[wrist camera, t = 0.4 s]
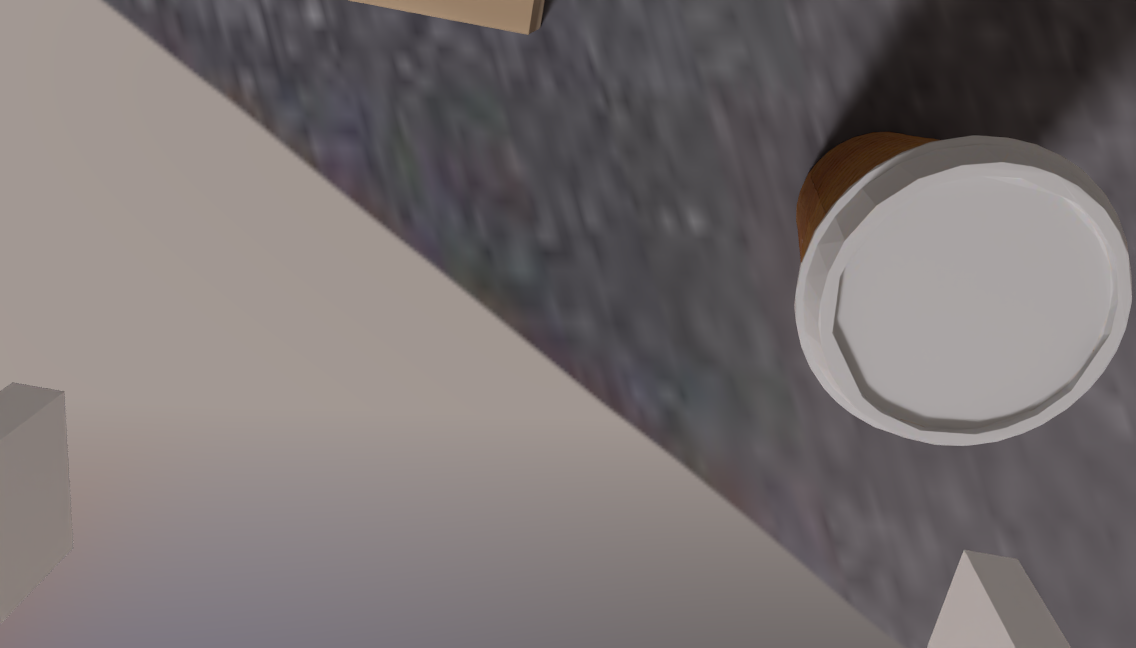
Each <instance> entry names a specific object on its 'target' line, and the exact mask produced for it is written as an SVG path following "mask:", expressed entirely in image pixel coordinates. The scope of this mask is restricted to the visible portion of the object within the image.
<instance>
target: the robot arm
mask: <svg viewBox="0 0 1136 648" xmlns="http://www.w3.org/2000/svg"><path fill="white" fill-rule="evenodd" d="M72 549H73V532H72V514H71V497H70V480H69V463H68V445H67V428H66V412H65V394H64V391H59V390H52V389H47V388H42V387H35V386H30V385H24V384H19V383H11V384H10V385H8V386H7V387H5V388H4V389H3V390H1V391H0V624H1V623H2V622H3V621H4V620H5V619H6V618H7V617H8V616H9V615H10V614H11V613H12V612H13V611H14V610H15V609H16V607H18V606H19V604H20V603H21V602H22V601H23V600H24V599H25V598H26V597H27V596H28V595H29V594H30V593H31V592H32V591H33V590H34V589H35V588H36V587H37V586H38V585H39V583H41V582H42V580H43V579H44V578H45V577H46V576H47V575H48V574H49V573H50V572H51V571H52V570H53V569H54V568H55V567H56V566H57V565H58V564H59V563H60V562H61V561H62V560H63V559H64V558H65V557H66V555H67V554H68V553H69V552H70V551H71V550H72ZM927 648H1071V647H1070V645H1069V644H1068V642H1067V640H1066V639H1065V637H1064V635H1063V634H1062V632H1061V630H1060V629H1059V627H1058V625H1057V624H1056V622H1055V620H1054V619H1053V617H1052V616H1051V614H1050V612H1049V611H1048V609H1047V607H1046V606H1045V604H1044V602H1043V601H1042V599H1041V597H1040V596H1039V594H1038V592H1037V591H1036V589H1035V587H1034V586H1033V584H1032V582H1031V581H1030V579H1029V577H1028V576H1027V574H1026V572H1025V571H1024V569H1023V567H1022V566H1021V564H1020V563H1019V561H1018V559H1014V558H1008V557H1002V556H997V555H991V554H985V553H980V552H974V551H968V550H964V551H963V554H962V557H961V559H960V562H959V564H958V567H957V570H956V572H955V575H954V578H953V580H952V583H951V586H950V588H949V591H948V593H947V596H946V599H945V601H944V604H943V607H942V609H941V612H940V615H939V617H938V620H937V622H936V625H935V628H934V630H933V633H932V636H931V638H930V641H929V644H928V646H927Z"/></svg>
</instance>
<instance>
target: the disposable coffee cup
mask: <svg viewBox="0 0 1136 648" xmlns="http://www.w3.org/2000/svg"><path fill="white" fill-rule="evenodd" d="M796 222H797V227H798V237H799V247H800V256H801V265H800V269H799V276H798V282H797V288H796V295H795V306H794V307H795V317H796V324H797V329H798V334H799V338H800V343H801V347H802V349H803V352H804V354H805V356H806V359H807V361H808V364H809V366H810V368H811V370H812V371H813V373H814V374H815V376H816V377H817V379H818V380H819V382H820V383H821V385H822V386H823V388H824V389H825V390H826V391H827V392H828V393H829V394H830V395H831V396H832V398H833V399H834V400H835V401H836V402H837V403H839V404H840V405H841V406H842V407H844V408H845V409H846V410H847V411H849V412H850V413H851V414H853V415H854V416H856V417H858V418H860V419H861V420H863V421H865V422H867V423H868V424H870V425H872V426H873V427H876V428H879V429H882V430H885V431H888V432H891V433H894V434H897V435H899V436H901V437H905V438H909V439H913V440H918V441H922V442H926V443H930V444H935V445H954V446H968V445H975V444H982V443H990V442H997V441H1000V440H1003V439H1006V438H1010V437H1013V436H1016V435H1019V434H1022V433H1025V432H1027V431H1029V430H1031V429H1033V428H1036V427H1038V426H1040V425H1042V424H1044V423H1045V422H1047V421H1048V420H1050V419H1052V418H1053V417H1055V416H1056V415H1058V414H1059V413H1061V412H1063V411H1064V410H1066V409H1067V408H1069V407H1070V406H1071V405H1072V404H1073V403H1074V402H1075V401H1076V400H1077V399H1079V398H1080V397H1081V396H1082V395H1083V394H1084V393H1085V392H1086V391H1087V390H1089V389H1090V387H1091V386H1092V385H1093V384H1094V383H1095V381H1096V380H1097V379H1098V378H1099V377H1100V375H1101V374H1102V373H1103V372H1104V370H1105V368H1106V367H1107V365H1108V364H1109V362H1110V361H1111V359H1112V357H1113V356H1114V354H1115V353H1116V351H1117V349H1118V346H1119V344H1120V341H1121V339H1122V336H1123V334H1124V332H1125V329H1126V326H1127V321H1128V316H1129V312H1130V307H1131V303H1132V276H1131V269H1130V262H1129V255H1128V248H1127V241H1126V238H1125V235H1124V232H1123V229H1122V226H1121V223H1120V220H1119V217H1118V215H1117V214H1116V212H1115V210H1114V208H1113V207H1112V205H1111V203H1110V201H1109V200H1108V198H1107V196H1106V195H1105V193H1104V192H1103V191H1102V190H1101V189H1100V188H1099V187H1098V186H1097V185H1096V184H1095V183H1094V181H1093V180H1092V179H1091V178H1090V177H1089V176H1088V175H1087V174H1086V173H1085V172H1084V171H1083V170H1082V169H1080V168H1079V167H1077V166H1076V165H1074V164H1073V163H1071V162H1070V161H1069V160H1067V159H1066V158H1064V157H1063V156H1061V155H1059V154H1056V153H1054V152H1052V151H1050V150H1047V149H1045V148H1043V147H1041V146H1039V145H1036V144H1033V143H1029V142H1025V141H1021V140H1017V139H1012V138H1005V137H993V136H980V135H972V136H966V137H959V138H953V139H946V140H937V139H930V138H923V137H916V136H910V135H906V134H900V133H894V132H873V133H869V134H865V135H861V136H857V137H854V138H851V139H849V140H847V141H845V142H843V143H841V144H839V145H837V146H836V147H834V148H833V149H831V150H830V151H829V152H828V153H826V154H825V155H824V156H823V157H822V158H821V159H820V160H819V161H818V162H817V163H816V165H815V166H814V167H813V168H812V170H811V171H810V172H809V173H808V176H807V178H806V180H805V182H804V184H803V186H802V189H801V191H800V194H799V198H798V202H797V215H796Z"/></svg>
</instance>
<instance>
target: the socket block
mask: <svg viewBox="0 0 1136 648" xmlns="http://www.w3.org/2000/svg"><path fill="white" fill-rule="evenodd" d="M350 1H355V2H360V3H366V4H371V5H376V6H381V7H386V8H392V9H397V10H402V11H407V12H413V13H418V14H423V15H428V16H433V17H439V18H444V19H449V20H454V21H460V22H465V23H470V24H475V25H480V26H486V27H491V28H496V29H501V30H507V31H512V32H517V33H522V34H527V35H529V34H530V33H532V32H534V31H535V30H537V29H539V28H540V26H541V20H542V14H543V7H544V1H545V0H350Z"/></svg>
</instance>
